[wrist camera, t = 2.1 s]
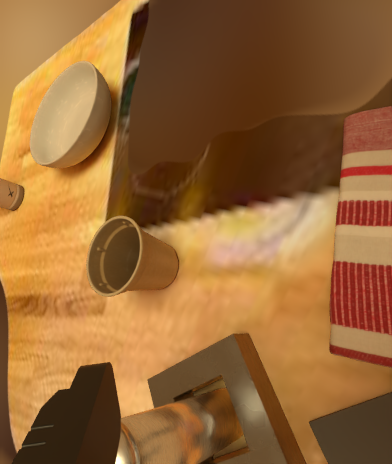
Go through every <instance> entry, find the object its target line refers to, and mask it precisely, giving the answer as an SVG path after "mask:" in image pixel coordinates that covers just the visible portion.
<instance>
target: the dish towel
mask: <svg viewBox="0 0 392 464" xmlns="http://www.w3.org/2000/svg"><path fill="white" fill-rule="evenodd" d="M343 130H344V134H343V137H344V138H343V154H342V167H341V175H340V193H339V200H338V208H337V216H336V230H335V243H334V261H333V268H332V277H331V295H330V322H331V336H330V352H331V354H334V355H338V356H344V357H348V358H352V359H355V360H359V361H364V362H369V363H373V364H377V365H382V366H386V367H391V368H392V106H389V107H383V108H377V109H372V110H367V111H362V112H359V113H355V114H352V115H350V116H348V117H346V118H345V119H344V126H343Z"/></svg>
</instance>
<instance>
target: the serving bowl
mask: <svg viewBox="0 0 392 464" xmlns="http://www.w3.org/2000/svg"><path fill="white" fill-rule="evenodd" d="M110 115H111V95H110V91H109V87H108V85H107V83H106V81H105V79H104V77H103V76H102V74H101V73H100V72H99V71H98V70H97V69H96V67H95V66H94V65H93V64H91V63H90V62H87V61H80V62H77V63H74V64H72V65H71V66H69V67H68V68H67V69H65V70H64V71H63V72H62V73H61V74H60V75H59V76H58V77H57V78H56V80H55V81H54V82H53V83H52V85H51V86H50V88H49V89H48V91H47V92H46V94H45V96H44V97H43V99H42V101H41V103H40V106H39V108H38V110H37V113H36V115H35V118H34V122H33V125H32V129H31V135H30V150H31V155H32V157H33V159H34V160H35V161H36V162H37V163H38V164H40V165H43V166H46V167H51V168H67V167H71V166H73V165H76V164H78V163H80V162H81V161H83V160H84V159H86V158H87V157H88V156H89V155H90V154H91V153H92V152H93V151H94V150H95V148H96V147H97V146H98V144H99V143H100V141H101V139H102V138H103V136H104V134H105V131H106V129H107V126H108V123H109V120H110Z"/></svg>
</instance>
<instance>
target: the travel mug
mask: <svg viewBox="0 0 392 464" xmlns="http://www.w3.org/2000/svg"><path fill="white" fill-rule="evenodd" d="M23 197H24V189H23V187H22V186H20V185H17V184H14V183H12V182H9V181H6V180H4V179H1V178H0V207H2V208H6V209H9V210H12V211H13V210H16V209H17V208H18V207H19V206H20V204H21V202H22V200H23Z"/></svg>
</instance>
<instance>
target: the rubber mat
mask: <svg viewBox="0 0 392 464" xmlns="http://www.w3.org/2000/svg"><path fill="white" fill-rule="evenodd" d="M309 424H310V426H311V428H312V430H313V432H314V435H315V437H316V439H317V441H318V443H319V445H320V447H321V449H322V452H323V454H324V456H325V458H326V460H327V462H328V464H392V392H390V393H387V394H385V395H382V396H379V397H376V398H374V399H371V400H368V401H365V402H363V403H360V404H357V405H354V406H352V407H349V408H346V409H343V410H340V411H338V412H335V413H332V414H329V415H327V416H324V417H321V418H318V419H316V420H313V421H310V422H309Z"/></svg>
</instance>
